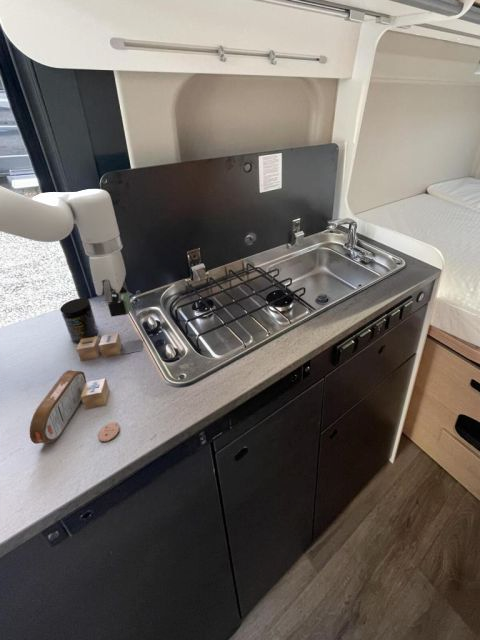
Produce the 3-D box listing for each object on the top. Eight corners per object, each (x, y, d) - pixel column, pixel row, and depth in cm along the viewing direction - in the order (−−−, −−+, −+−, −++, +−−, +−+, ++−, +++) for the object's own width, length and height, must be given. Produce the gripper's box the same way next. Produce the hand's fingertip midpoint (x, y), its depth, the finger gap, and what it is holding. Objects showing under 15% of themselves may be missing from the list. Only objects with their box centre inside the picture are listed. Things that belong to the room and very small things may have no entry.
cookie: (119, 420, 69) (118, 417, 69) (120, 437, 66) (119, 433, 65) (98, 428, 67) (97, 425, 67) (98, 445, 64) (96, 442, 64)
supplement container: (100, 337, 92) (90, 307, 87) (71, 347, 88) (60, 316, 84) (97, 324, 97) (88, 295, 92) (70, 333, 93) (60, 303, 89)
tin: (79, 388, 76) (68, 361, 73) (92, 388, 76) (83, 361, 73) (35, 453, 63) (20, 424, 59) (53, 452, 63) (39, 423, 59)
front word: (85, 409, 71) (80, 396, 70) (90, 394, 75) (85, 381, 73) (105, 405, 72) (101, 392, 71) (109, 390, 76) (105, 377, 74)
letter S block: (111, 316, 80) (107, 303, 78) (114, 307, 84) (110, 294, 82) (129, 314, 81) (125, 300, 80) (131, 304, 85) (128, 291, 83)
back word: (80, 362, 84) (75, 350, 82) (85, 349, 88) (81, 337, 86) (141, 351, 87) (138, 339, 86) (143, 339, 92) (140, 327, 90)
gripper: (94, 231, 81) (111, 293, 89) (72, 263, 66) (95, 333, 74) (127, 228, 83) (141, 289, 91) (113, 258, 68) (132, 327, 76)
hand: (120, 308), depth 82 cm, fingers closed on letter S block, 4 cm apart
